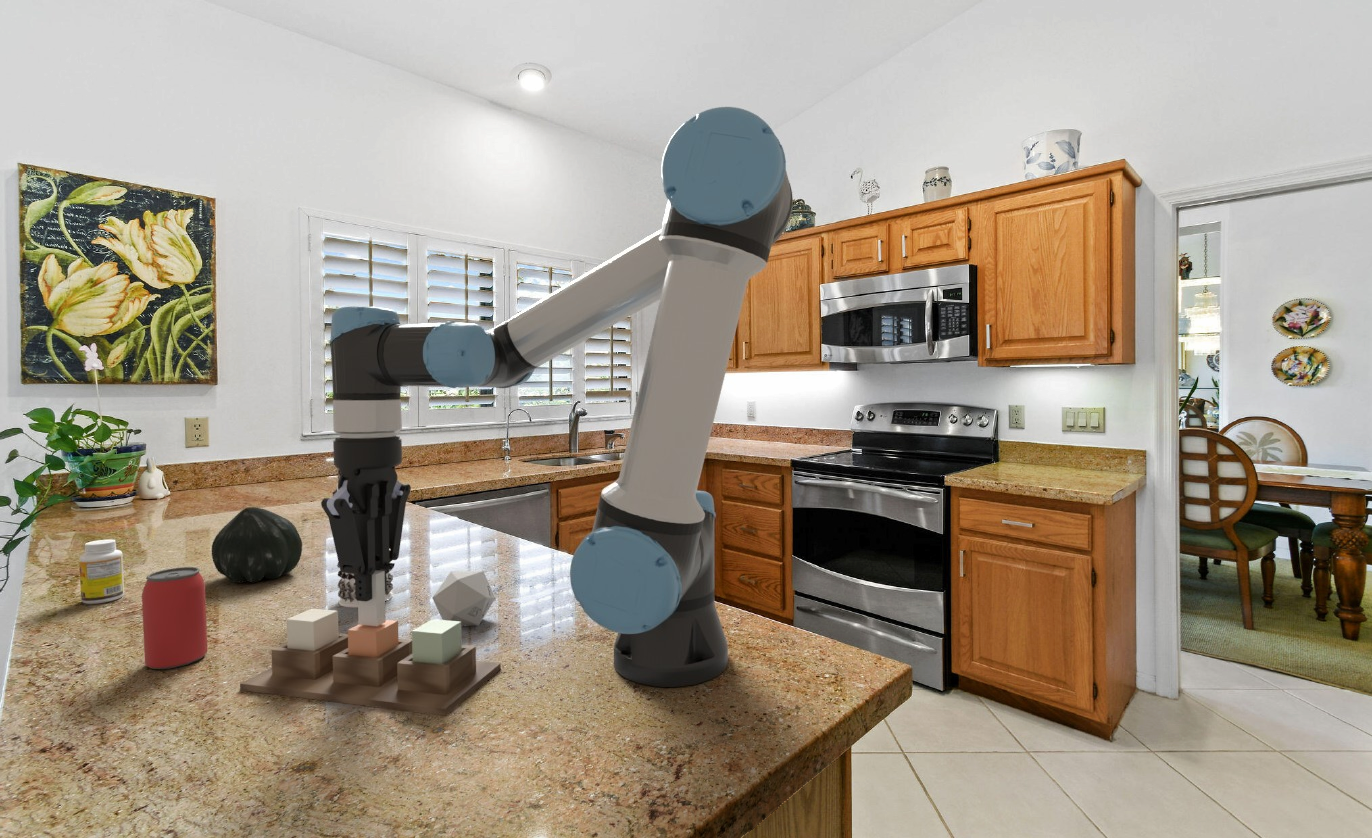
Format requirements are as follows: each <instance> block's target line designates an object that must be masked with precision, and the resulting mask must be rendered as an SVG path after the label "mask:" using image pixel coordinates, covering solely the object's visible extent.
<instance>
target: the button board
mask: <svg viewBox="0 0 1372 838" xmlns="http://www.w3.org/2000/svg"><path fill="white" fill-rule="evenodd" d="M338 634H339V639H337V640H335V641H333V642H331V643H329V644H327V645H325V646H323V647H321V648H319V649H317V650H315V651H310V650H300V649H291V648H287V642H285V643H283V644H280V645H277V646H276V647H274V648H272V649H271V651H270V652H271V668H269V669H267V670H264V671H262V672H260V673H258V674H256V675H254V676H252V677H250V678H248V679H246V680H244V681H242V682H240V683H239V690H240V691H247V692H253V693H259V694H270V695H276V696H284V697H294V698H301V699H310V700H317V701H325V702H333V703H341V704H349V705H356V706H363V705H366V706H365V707H371V708H380V709H387V710H388V709H389V710H394V711H395V710H398V711H403V712H404V711H406V712H412V713H420V714H428V715H435V716H442V717H445V716H448V714H450V713H451V712H452V711H454V710H455V708H456V707H458V706H459V705H461V703H463V702H464V701H465V700H466V699H467V698H469V696H471V695H472V694H473V693H474V692H476V691H477V690H478V689H479V688H480V687H482V686H483V685H484V684H485V683H486V682H487V681H488V680H490V679H491V678H492V677H493V676H495V675H496V674H498V672H499V671H500V670H501V668H502V667H501V664H502V663H500V662H493V661H491V662H490V661H483V660H482V661H481V660H477V648H476V645H475V646H474V645H465V644H462V652H460V653H459V654H458V655H456V656H455V657H453V658H452V659H451V660H449V661H448V662H446V663H445V664H443V665H442V664H433V663H423V662H414V661H413V654H412V639H407V638H406V639H404V638H398V639H399V645H398V646H396V647H394V648H393V649H391V650H389V651H387V652H386V653H384V654H382V655H381V656H379V657H377V658H376V657H367V656H357V655H348V633H343V632H342V633H341V632H338ZM372 706H373V707H372Z"/></svg>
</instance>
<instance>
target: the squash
mask: <svg viewBox="0 0 1372 838" xmlns="http://www.w3.org/2000/svg"><path fill="white" fill-rule="evenodd" d="M302 553H303V541H302V538H301V536H300V534H299V531H298V530H297V528H296V526H295V525H294V524H293V522H291V521H290V520H289V519H287V518H286V517H283V516H282V515H279V514H277V513H275V512H272V511H271V510H267V509H264V508H260V507H255V506H249V507H244V508H243V509H241V510H240V511H239V512H238V513H237V514H236V515H235V516H234V517H233V518H232V519H231V520H229V521H228V523H226V524H225V525H224V526H223V527H222V528H221V530H220V531H219V532H218V533H217V534H216V535H215V537H214V539H213V542H212V545H211V558H212V561H213V565H214V567H215V569H216V570H217V572H218V573H220V574H221V575H222V576H224V577H226V579H228V580H230V581H231V582H232V583H236V584H237V583H238V584H240V583H246V582H250V583H253V584H255V583H257V582H260V581H261V580H263V578H264V577H265V578H266V579H268V580H269V579H270V580H272V579H278V578H279V577H280V576H283V575H286V574H288V573H290V572H291V571H293V570H294V569H295V568H296V567H297V565H298V564H299V562H300V560H301V557H302Z"/></svg>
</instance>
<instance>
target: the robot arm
mask: <svg viewBox="0 0 1372 838" xmlns="http://www.w3.org/2000/svg"><path fill="white" fill-rule="evenodd" d="M784 151H785V150H784V148H783V145H782V144H781V142H780V140H779V139H778V137H777V136H776V134H775V132H774V130H773V129H772V128H771V127H770V126H769V124H768V123H767V122H766V121H765V120H764V119H763V118H761V117H760V116H759V115H757V114H756V113H754V112H751V111H749V110H747V109H744V108H740V107H736V106H735V107H734V106H718V107H713V108H710V109H707V110H704V111H701V112H699V113H697V114H696V115H694V116H693V117H691V118H690V119H688V120H687V121H685V122H684V123H682V124H681V125H680V126H679V128H677V130H676V131H675V132H674V133H673V134H672V136H671V138H670V139H669V140H668V143H667V145H666V147H665V149H664V153H663V155H662V160H661V180H662V181H661V182H662V184H661V185H662V189H663V192H664V195H665V197H666V199H667V203H666V206H665V212H664V216H663V220H662V223H661V229H659V230H658V231H656V232H653V234H650V235H649V236H647V237H645V238H644V239H642V240H640V241H639V242H637V243H636V244H634V245H632V246H630V247H628V248H627V249H625V250H623V251H622V252H620V253H619V254H617V255H615V256H613V257H612V258H610V259H608V260H607V261H605V262H603V263H602V264H599V265H598V266H597V267H594V268H593V269H591V270H590V271H588V272H586V273H584V274H582V275H581V276H580V277H578V278H576V279H574V280H573V281H571V282H570V283H568V284H566V285H565V286H562V287H561V288H559V289H557V290H555V291H554V292H552V293H550V294H548V295H546V297H544V298H542V299H540V300H539V301H537V302H535V303H534V304H532V305H530V306H528V307H527V308H525V309H524V310H521V311H520V312H518V313H516V314H515V315H513V316H512V317H510V318H509V319H507V320H505V321H503V322H502V323H500V324H498V325H496V326H495V327H492V328H491V329H489V330H485V329H484V327H483V326H481V325H480V324H477V323H471V322H470V323H469V322H458V321H445V322H437V323H436V322H435V323H434V322H433V323H411V324H404V323H403V324H401V323H400V322H401V321H400V316H399V314H398V313H397V311H395V310H393V309H389V308H386V307H385V308H384V307H376V306H343V307H339V308H337V309H335V310H334V311H333V313H332V315H331V325H330V327H331V328H330V340H329V347H330V358H331V373H332V374H331V376H332V377H331V380H332V413H333V416H332V417H333V418H332V420H333V421H332V422H333V426H332V427H333V432H334V433H335V434H339V437H335V438H334V440H332V442H333V466H334V467H336V468H337V469H338V468H339V470H340V472H341V475H340V479H339V482H338V481H337V483H338V491H337V492H336V493H335V495H334V496H333V495H332V497H324V498H323V499H322V500H321V503H320V505H321V508H322V509H323V511H324V513H325V514H326V515H327V518H328V521H329V525H330V531H331V535H332V539H333V540H332V541H333V544H334V549H335V552H336V557H337V560H338V561H337V563H338V562H339V566H340V568H339V571H340V570H341V572H343V573H351V574H354V576H355V592H356V593H355V595H356V600H357V601H358V607H357V608H358V609H357V611H358V612H357V613H358V614H357V616H358V620H357V621H358V623H357V625H369V626H379V625H381V624H383V623H385V622H386V621H385V620H386V602H385V593H386V589H387V584H386V583H387V582H386V569H390V570H391V569H392V570H393V569H394V568H395V564H396V563H394V562H392V561H397V560H398V559H399V556H400V549H401V541H402V533H403V529H404V528H403V527H404V520H405V513H406V512H405V511H406V505H407V501H408V499H409V496H410V492H411V489H412V487H411V484H409V483H407V484H406V483H401V482H400V481H399V480H398V478H399V477H398V474H397V472H396V471H397V470H396V467H397V466H400V465H401V463H403V453H402V452H403V451H402V449H403V448H402V447H403V446H402V442H403V440H402V438H401V436H400V435H398V432H401V431H402V429H403V426H402V425H403V424H402V422H403V419H402V399H401V393H402V390H401V389H402V387H403V388H404V387H405V388H406V387H426V388H427V387H430V388H433V387H434V388H435V387H436V388H438V387H439V388H444V387H445V388H450V389H457V388H463V389H464V388H469V387H470V388H475V387H476V388H497V389H509V388H512V387H517V386H520V385H523V384H524V383H526V382H527V381H529V379H530V378H531V377H532V375H533V374H534V371H535V369H537V368H539V367H540V366H542V365H544V364H546V363H548V362H549V361H551V360H553V359H555V358H556V357H558V356H561V355H562V354H564V353H565V352H568V351H570V350H571V349H573V348H575V347H577V346H578V345H580V344H582V343H583V342H585V341H588V340H589V339H591V338H593V337H594V336H596V335H599V334H600V333H601V332H604V331H605V330H607V329H609V328H610V327H611V328H612V327H613V326H614V325H616V324H618V323H619V322H622V321H624V320H625V319H627V318H629V317H631V316H632V315H634V314H637V312H640V311H642V310H644V309H645V308H647V307H648V306H651V305H653V304H654V303H656V302H658V301H659V303H658V308H657V311H656V316H655V319H654V325H653V328H652V329H653V330H652V334H651V337H650V342H649V346H648V350H647V354H646V359H645V363H644V368H643V373H642V376H641V380H640V381H641V382H640V385H639V389H638V394H637V398H636V403H635V407H634V410H633V416H632V420H631V424H630V428H629V434H628V437H627V440H626V446H625V449H624V455H623V460H622V463H621V466H620V467H621V468H620V471H619V475H618V478H617V479H616V480H615V481H614V482H612V483H610V484H609V485H606V486H605V487H604V488H602V490H601V494H600V497H599V501H598V505H597V510H596V514H595V518H594V521H593V527H592V531H591V532H590V533H588V534H587V535H585V536H584V538H583V539H582V540H581V542H580V544H579V545H578V546H577V548H576V550H575V552H574V553H573V556H572V559H571V562H570V568H569V569H570V570H569V579H570V585H571V589H572V593H573V595H574V598H575V599H576V601H577V602H578V603H579V604H580V607H581V608H582V610H583V612H584V613H585V614H586V615H587V616H588V617H589V618H590V619H591V620H592V621H593V622H594V623H596V624H597V625H599V626H600V627H602V628H604V629H606V630H609V631H611V632H614V633H617V635H616V638H615V642H614V645H613V666H614V669H615V670H616V672H617V673H618V674H619V675H620V676H622V677H624V678H625V679H627V680H629V681H632V682H634V683H637V684H641V685H646V686H652V687H660V688H661V687H666V688H668V687H669V688H674V687H685V686H692V685H698V684H701V683H704V682H707V681H710V680H713V679H714V678H717V677H718V676H720V674H722V673H723V672H725V670H726V669H727V667H728V665H729V664H728V663H729V647H728V646H729V645H728V642H727V638H726V635H725V632H724V629H723V626H722V623H721V620H720V616H719V613H718V611H717V607H716V603H715V520H716V517H717V516H716V514H717V513H716V512H715V502H714V498H713V495H712V494H711V493H710V492H707V491H705V490H698V487H699V483H700V478H701V475H702V471H703V466H704V462H705V457H706V455H707V450H708V446H709V441H710V437H711V434H712V430H713V425H714V421H715V418H716V412H717V411H718V410H717V409H718V405H719V400H720V396H721V392H722V388H723V385H724V381H725V375H726V372H727V368H728V364H729V360H730V356H731V352H732V347H733V344H734V338H735V335H736V331H737V327H738V323H739V319H740V315H741V311H742V308H743V303H744V298H745V295H746V291H747V287H748V283H749V280H750V279H751V278H752V277H754V276H756V275H757V274H759V273H760V272H762V271H763V270H765V269H766V268H767V265H768V261H769V258H770V252H771V251H772V250H771V249H772V246H773V245H774V244H775V243H776V242H777V241H778V240H779V239H780V238H781V237H782V234H784V232H785V230H786V229H787V227H788V225H789V223H790V220H791V216H792V213H793V203H794V199H793V190H792V186H791V183H790V180H789V177H788V173H787V164H786V163H787V162H786V154H785V152H784ZM389 549H390V550H389ZM392 570H391V571H392Z"/></svg>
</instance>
